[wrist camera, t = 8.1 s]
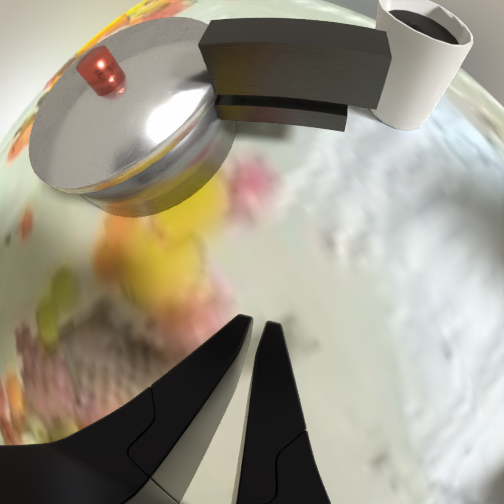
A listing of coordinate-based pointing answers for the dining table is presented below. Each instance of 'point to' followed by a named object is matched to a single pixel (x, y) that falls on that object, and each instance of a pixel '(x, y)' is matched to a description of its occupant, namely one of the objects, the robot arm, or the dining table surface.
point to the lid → (190, 88)
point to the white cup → (418, 59)
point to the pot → (209, 151)
